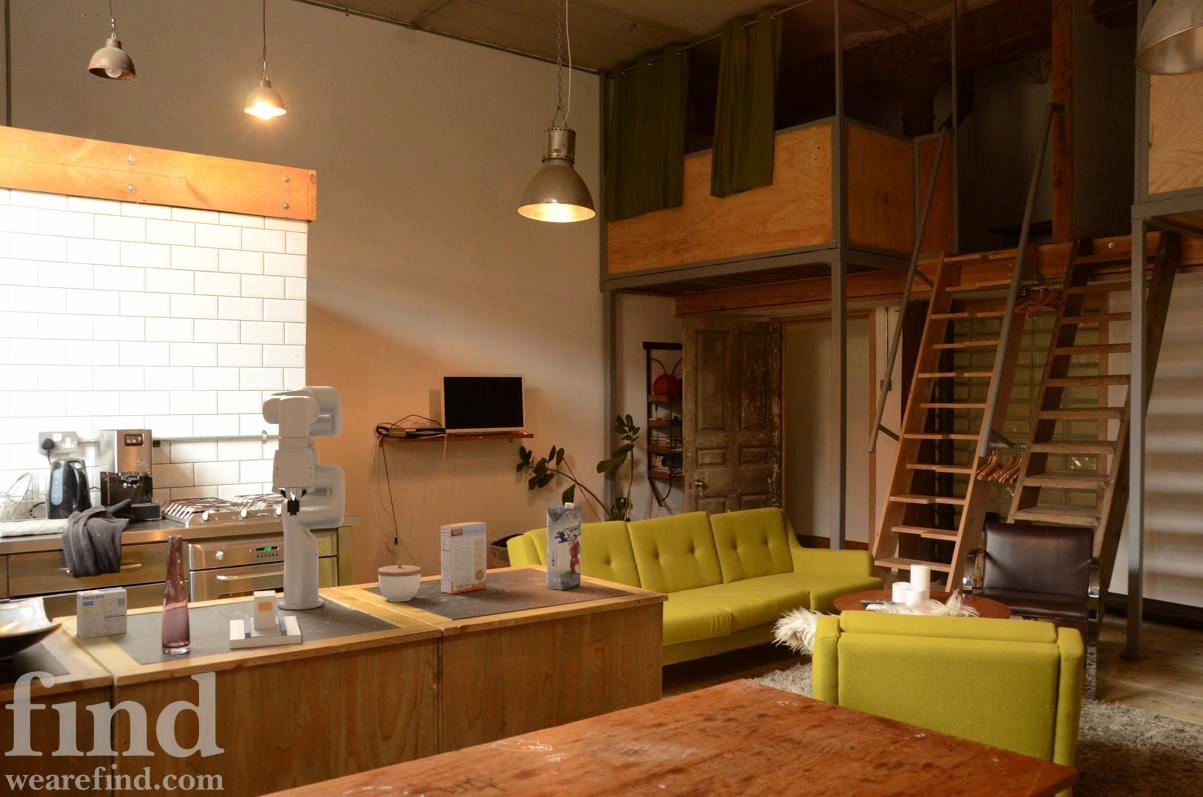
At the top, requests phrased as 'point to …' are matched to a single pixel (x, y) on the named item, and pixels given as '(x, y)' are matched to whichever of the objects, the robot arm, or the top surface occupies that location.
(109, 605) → the light bulb box
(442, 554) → the cracker box
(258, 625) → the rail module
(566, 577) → the juice carton
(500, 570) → the top surface
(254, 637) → the rail board
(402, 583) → the lidded bowl
